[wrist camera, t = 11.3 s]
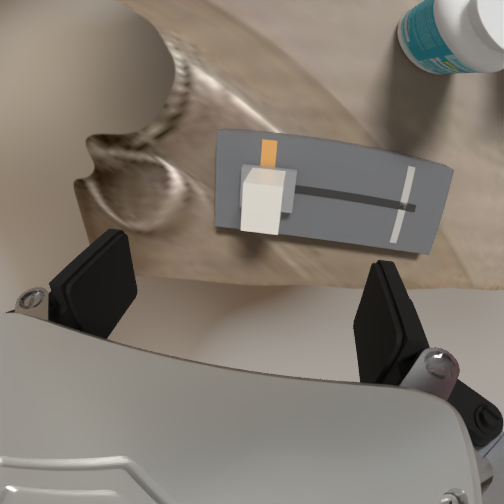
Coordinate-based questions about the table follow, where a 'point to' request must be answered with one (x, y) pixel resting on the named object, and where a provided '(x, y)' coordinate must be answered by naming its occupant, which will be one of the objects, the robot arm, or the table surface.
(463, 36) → the pill bottle
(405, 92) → the table surface
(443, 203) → the fader console
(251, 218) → the fader knob
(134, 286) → the robot arm
